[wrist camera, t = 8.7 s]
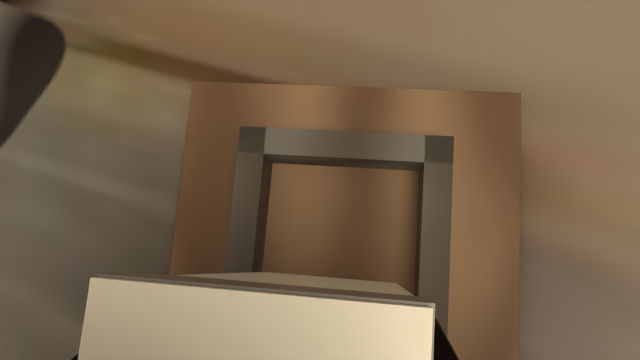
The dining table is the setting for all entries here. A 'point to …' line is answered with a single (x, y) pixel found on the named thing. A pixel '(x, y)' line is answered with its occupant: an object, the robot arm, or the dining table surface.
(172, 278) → the cream square-faced block
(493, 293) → the brown flat board
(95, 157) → the dining table surface
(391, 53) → the dining table surface
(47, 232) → the dining table surface
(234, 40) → the dining table surface
